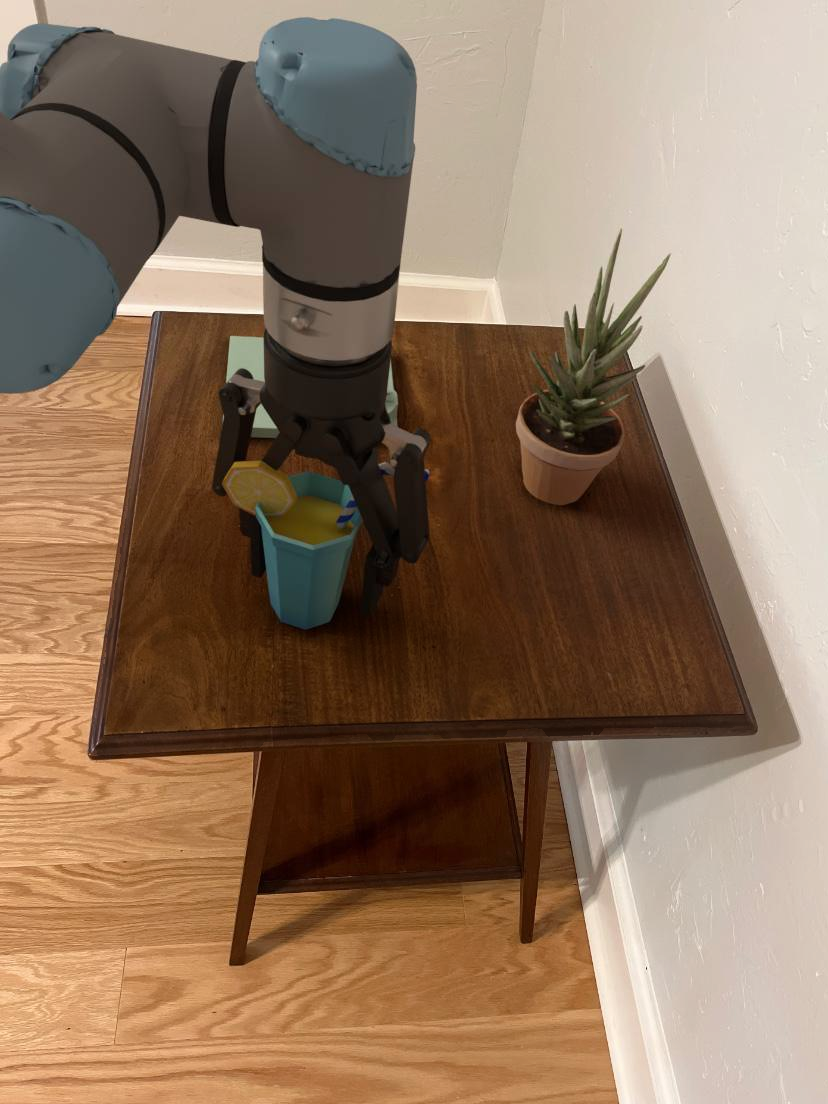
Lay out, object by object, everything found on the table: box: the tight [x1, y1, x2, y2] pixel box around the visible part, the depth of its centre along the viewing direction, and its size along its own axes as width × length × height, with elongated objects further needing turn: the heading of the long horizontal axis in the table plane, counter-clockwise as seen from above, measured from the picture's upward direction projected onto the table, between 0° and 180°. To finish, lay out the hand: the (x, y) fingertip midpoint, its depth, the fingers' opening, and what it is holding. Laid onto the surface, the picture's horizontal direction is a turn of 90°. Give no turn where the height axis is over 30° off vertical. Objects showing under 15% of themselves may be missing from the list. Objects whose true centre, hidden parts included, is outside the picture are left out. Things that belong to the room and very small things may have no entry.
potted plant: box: [515, 227, 672, 506], centre depth 76 cm, size 10×10×25 cm
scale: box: [221, 335, 399, 439], centre depth 88 cm, size 16×14×3 cm
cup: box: [222, 460, 430, 631], centre depth 66 cm, size 14×8×15 cm, turn 98°
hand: (317, 584), depth 70 cm, fingers open, 8 cm apart
